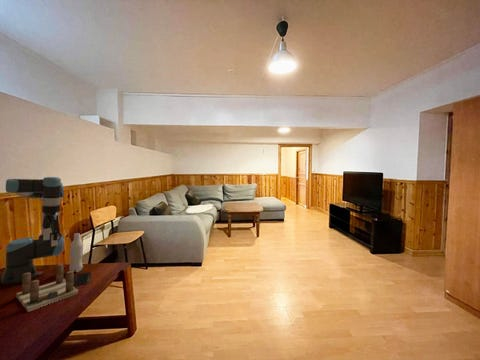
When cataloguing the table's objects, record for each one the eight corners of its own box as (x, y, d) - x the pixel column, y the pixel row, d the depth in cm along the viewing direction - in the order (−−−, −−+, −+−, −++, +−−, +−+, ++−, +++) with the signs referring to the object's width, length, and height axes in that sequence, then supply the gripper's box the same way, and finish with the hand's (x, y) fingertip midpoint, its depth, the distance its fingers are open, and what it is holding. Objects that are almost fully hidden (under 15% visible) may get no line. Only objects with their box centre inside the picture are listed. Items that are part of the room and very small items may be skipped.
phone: (91, 272, 143) (89, 282, 130) (90, 273, 143) (88, 284, 130) (76, 274, 139) (72, 285, 126) (75, 276, 139) (72, 287, 126)
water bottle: (79, 268, 150) (80, 231, 149) (84, 270, 146) (85, 233, 145) (66, 271, 144) (68, 233, 143) (72, 274, 140) (73, 235, 139)
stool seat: (16, 297, 114) (17, 274, 113) (63, 282, 130) (64, 262, 130) (28, 312, 103) (28, 286, 102) (78, 293, 119) (78, 272, 119)
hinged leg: (29, 300, 107) (29, 281, 107) (56, 292, 115) (57, 274, 115) (30, 303, 105) (30, 284, 105) (58, 295, 113) (58, 277, 112)
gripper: (35, 202, 126) (34, 239, 127) (50, 209, 112) (49, 250, 113) (52, 201, 132) (51, 236, 133) (68, 207, 118) (66, 246, 119)
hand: (50, 242), depth 123 cm, fingers open, 13 cm apart
